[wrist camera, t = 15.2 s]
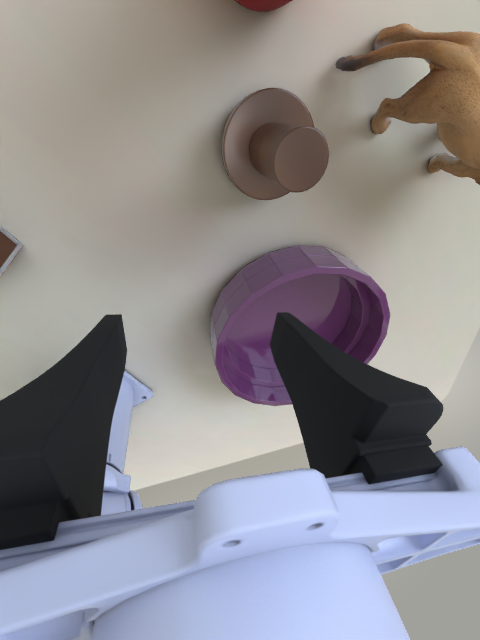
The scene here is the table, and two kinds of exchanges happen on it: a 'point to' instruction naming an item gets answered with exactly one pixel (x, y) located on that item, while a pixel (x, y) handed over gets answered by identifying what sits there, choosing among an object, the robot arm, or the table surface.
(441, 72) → the lion figurine
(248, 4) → the paper cup
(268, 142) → the brown stamp
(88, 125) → the table surface
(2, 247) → the food container
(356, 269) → the bowl
